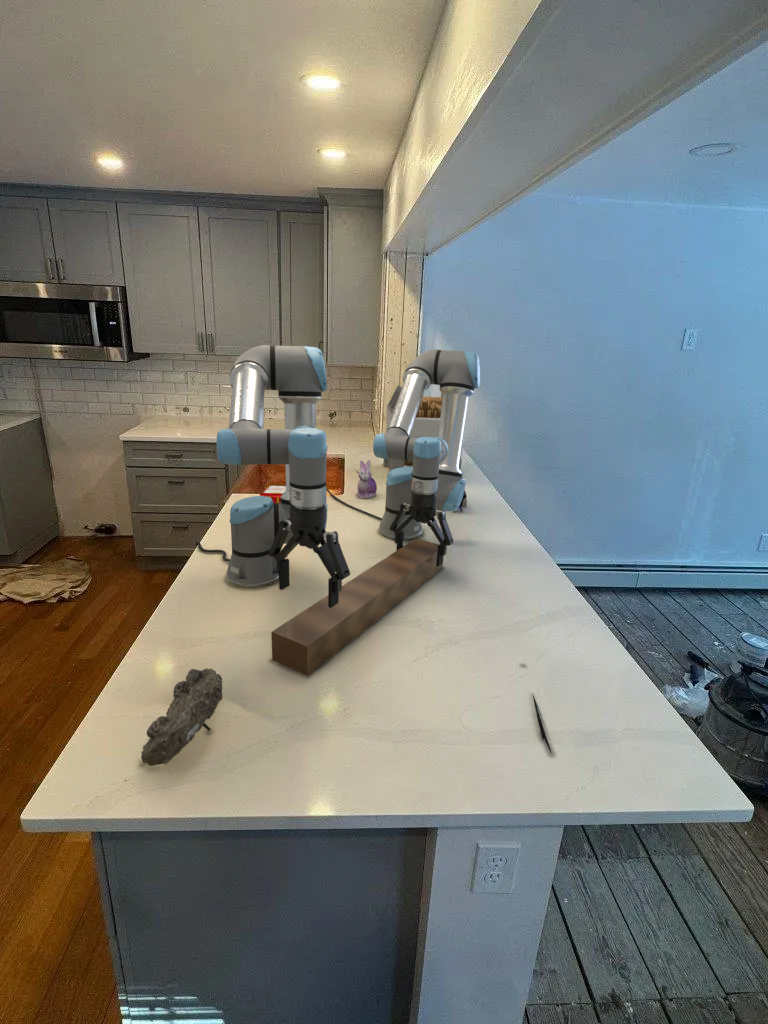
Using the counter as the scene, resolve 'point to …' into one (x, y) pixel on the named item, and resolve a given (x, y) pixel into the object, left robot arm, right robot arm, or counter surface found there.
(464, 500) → the figurine character
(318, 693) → the counter surface
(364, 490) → the figurine
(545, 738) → the feather
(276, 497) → the toy
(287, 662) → the thick board
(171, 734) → the fossil
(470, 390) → the right robot arm
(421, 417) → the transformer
